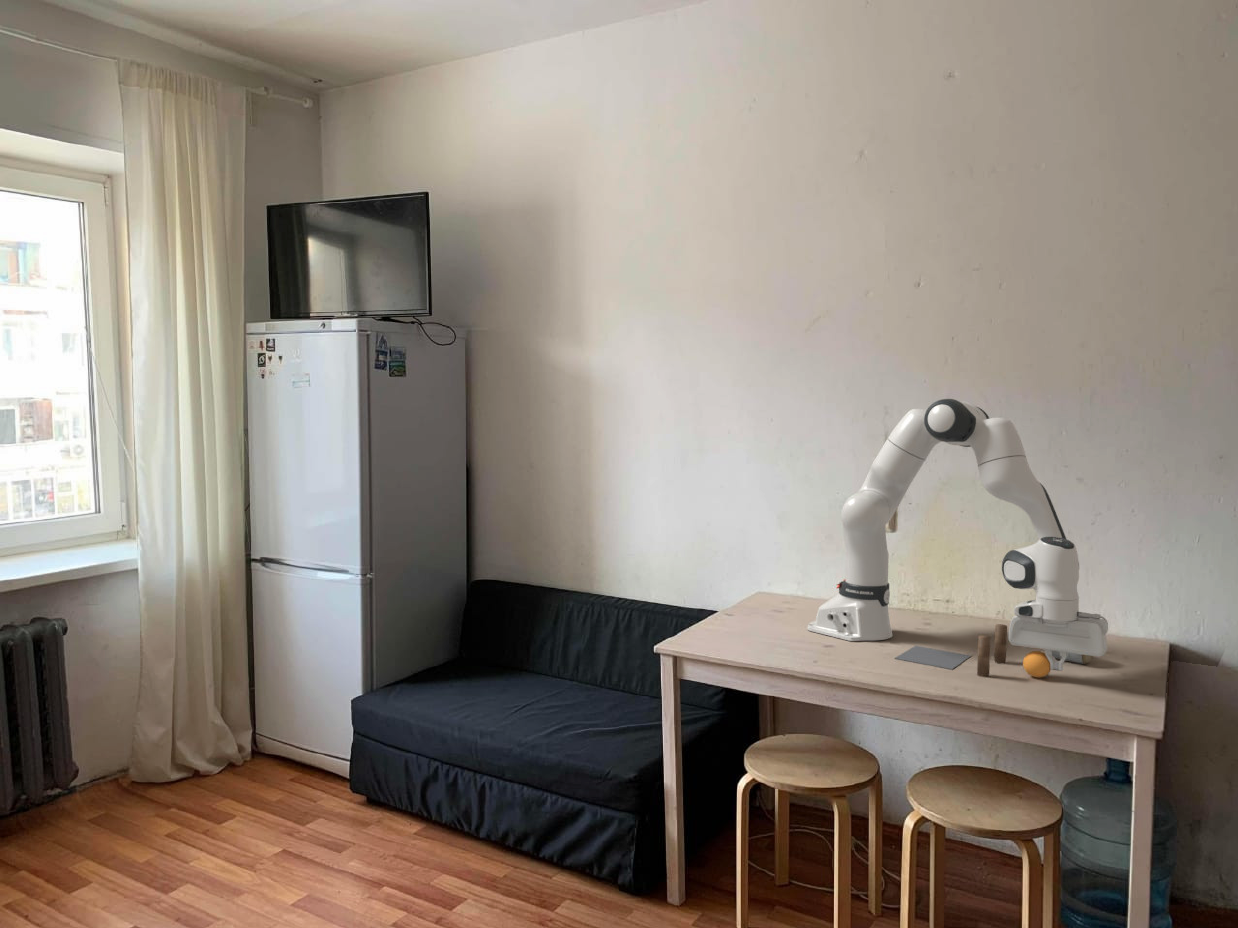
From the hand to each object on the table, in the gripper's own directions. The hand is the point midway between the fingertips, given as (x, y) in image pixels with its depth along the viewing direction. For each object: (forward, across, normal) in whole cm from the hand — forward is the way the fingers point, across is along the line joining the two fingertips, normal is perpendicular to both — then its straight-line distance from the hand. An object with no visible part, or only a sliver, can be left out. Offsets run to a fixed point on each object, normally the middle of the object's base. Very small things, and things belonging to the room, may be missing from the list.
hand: (1056, 669), depth 211 cm
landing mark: (+1, +28, 0) cm, 28 cm away
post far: (+2, +14, -7) cm, 16 cm away
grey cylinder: (+2, +1, -20) cm, 21 cm away
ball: (-1, +4, 0) cm, 4 cm away
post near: (+2, +14, +6) cm, 16 cm away
